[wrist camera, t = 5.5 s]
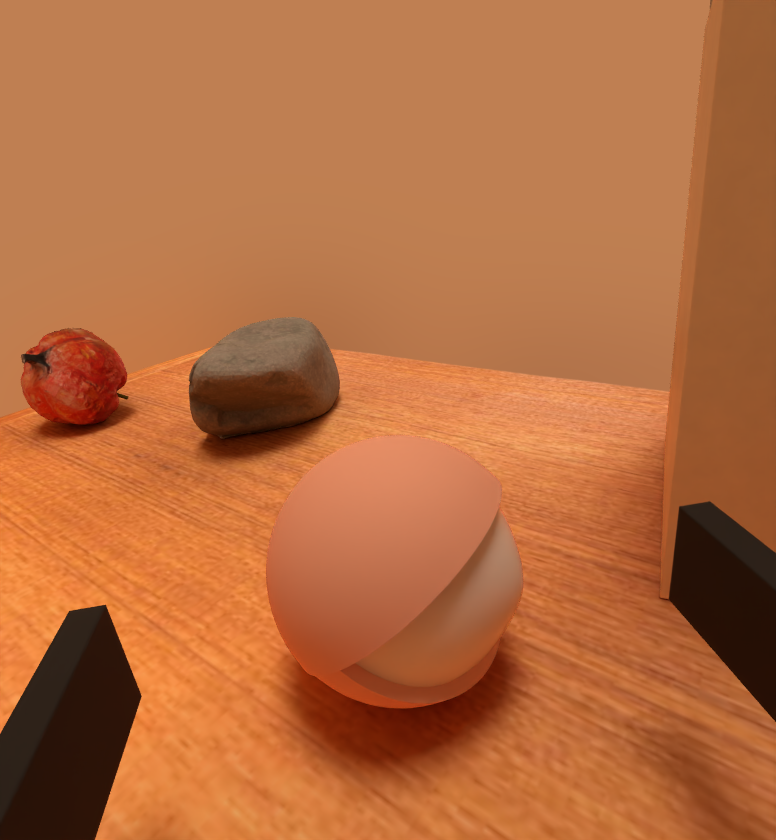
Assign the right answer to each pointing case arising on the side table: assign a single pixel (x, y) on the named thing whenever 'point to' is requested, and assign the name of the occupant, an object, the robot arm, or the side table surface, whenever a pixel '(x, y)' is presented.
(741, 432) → the stand
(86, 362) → the pomegranate
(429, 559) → the toy ball
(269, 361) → the stone
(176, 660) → the side table surface
